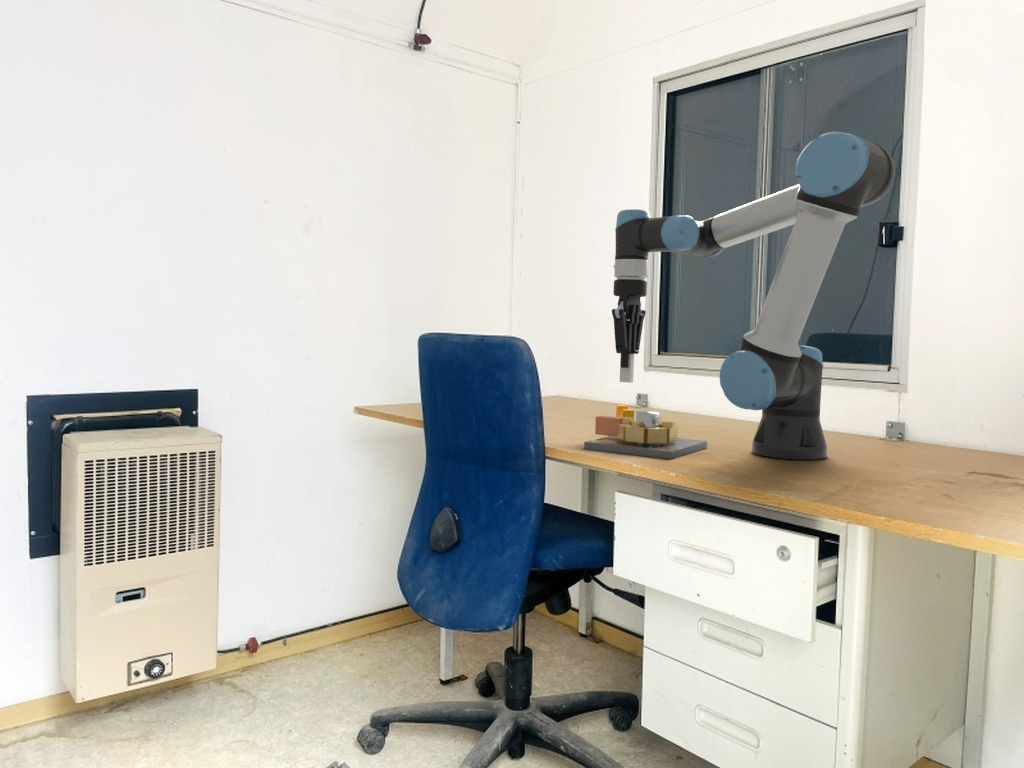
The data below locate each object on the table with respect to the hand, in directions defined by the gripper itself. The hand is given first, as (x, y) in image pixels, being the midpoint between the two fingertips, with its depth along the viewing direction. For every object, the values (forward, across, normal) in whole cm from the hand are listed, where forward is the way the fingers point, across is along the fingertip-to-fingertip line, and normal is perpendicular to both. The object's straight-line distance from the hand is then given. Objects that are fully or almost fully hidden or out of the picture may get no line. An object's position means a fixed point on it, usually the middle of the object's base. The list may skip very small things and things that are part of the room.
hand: (626, 381), depth 186 cm
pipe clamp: (+14, -12, -7) cm, 20 cm away
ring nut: (+12, +7, +6) cm, 15 cm away
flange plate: (+14, +7, +9) cm, 18 cm away
